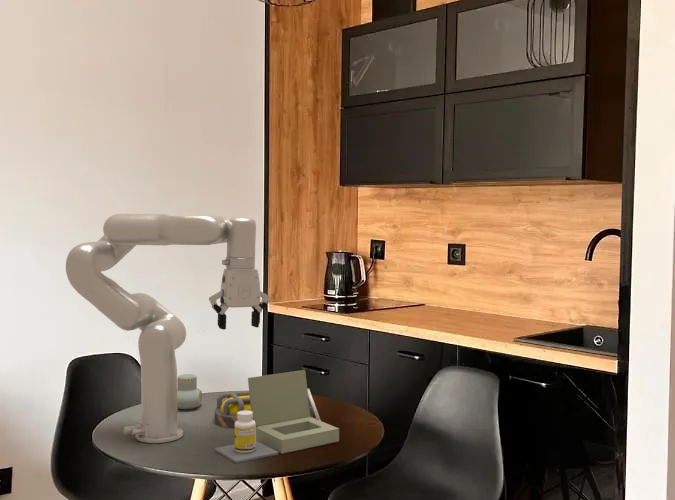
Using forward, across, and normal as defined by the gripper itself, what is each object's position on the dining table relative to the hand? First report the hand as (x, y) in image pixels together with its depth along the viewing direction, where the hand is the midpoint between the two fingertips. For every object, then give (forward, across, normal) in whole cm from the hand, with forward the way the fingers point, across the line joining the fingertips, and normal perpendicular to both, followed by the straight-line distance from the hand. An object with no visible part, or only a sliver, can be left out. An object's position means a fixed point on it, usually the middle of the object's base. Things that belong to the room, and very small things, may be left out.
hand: (238, 327), depth 198 cm
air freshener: (+31, +2, +38) cm, 49 cm away
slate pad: (+30, -2, -11) cm, 32 cm away
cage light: (+31, +16, +14) cm, 38 cm away
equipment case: (+30, +14, -8) cm, 34 cm away
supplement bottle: (+30, -3, -11) cm, 32 cm away
